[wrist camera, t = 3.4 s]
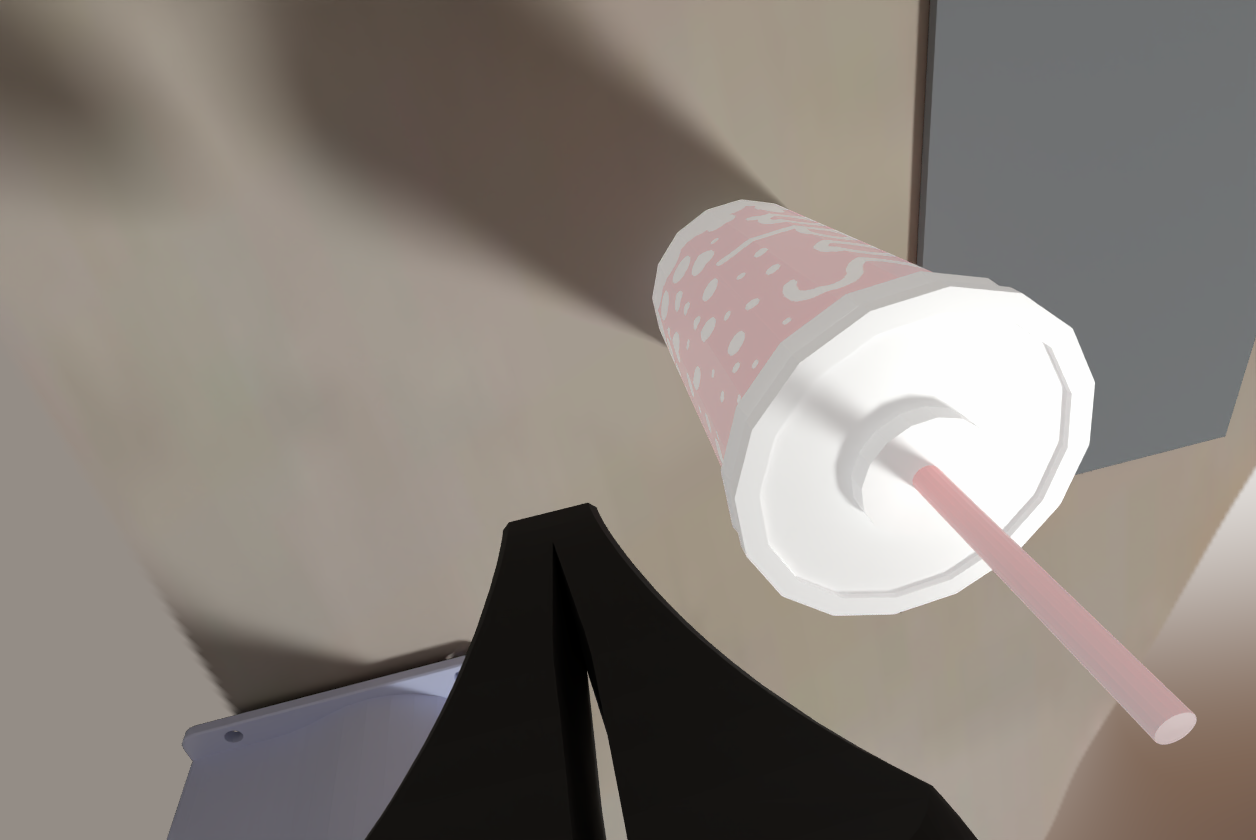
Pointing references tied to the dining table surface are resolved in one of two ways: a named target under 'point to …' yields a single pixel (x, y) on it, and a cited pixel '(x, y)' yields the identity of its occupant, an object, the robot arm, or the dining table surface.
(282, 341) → the dining table surface
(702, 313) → the beverage cup
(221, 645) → the dining table surface
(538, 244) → the dining table surface
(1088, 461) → the rubber mat
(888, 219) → the dining table surface
